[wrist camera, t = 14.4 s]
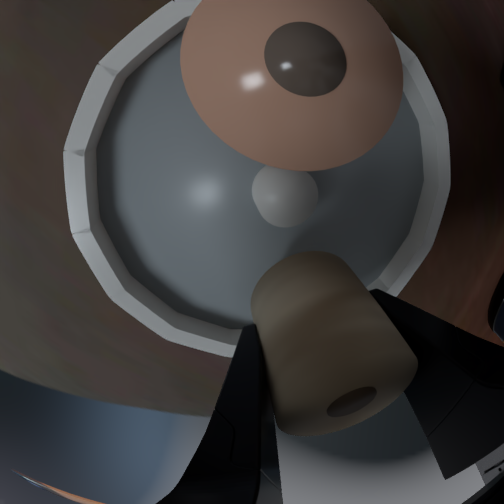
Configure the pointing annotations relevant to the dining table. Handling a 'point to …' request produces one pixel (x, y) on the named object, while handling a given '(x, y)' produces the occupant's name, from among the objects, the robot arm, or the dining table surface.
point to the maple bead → (326, 345)
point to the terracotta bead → (293, 78)
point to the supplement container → (497, 311)
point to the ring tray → (233, 195)
